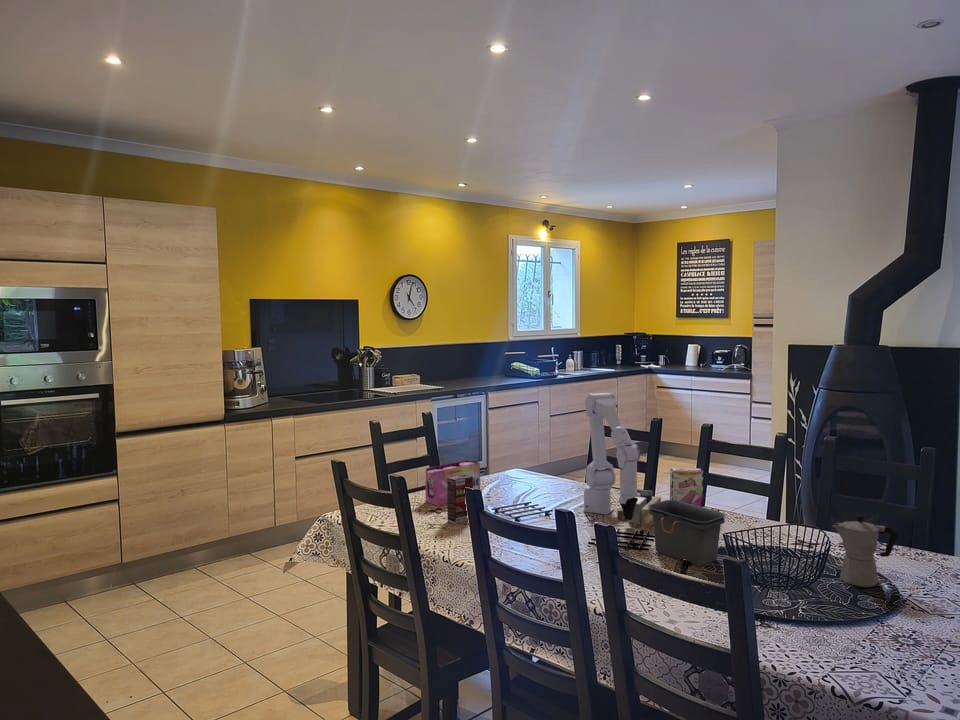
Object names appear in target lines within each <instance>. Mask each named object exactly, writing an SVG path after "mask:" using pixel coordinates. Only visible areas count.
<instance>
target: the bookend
mask: <svg viewBox="0 0 960 720" xmlns="http://www.w3.org/2000/svg"><path fill="white" fill-rule="evenodd" d="M637 493H640V496H639V497H647V504H648V503H649V502H650V501H651V500H652V499H653V490H647V489H639V488H637Z"/></svg>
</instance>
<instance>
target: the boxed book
mask: <svg viewBox="0 0 960 720" xmlns="http://www.w3.org/2000/svg"><path fill="white" fill-rule="evenodd" d="M634 498H638V501H637V503H636V505H635V508H634V512H633V517H632V520H627V522H628V523H630V522H632V523H631V524H637V523H640V522H641V521H642V508H643V507H644V506H646V505H647V497H634ZM641 523H642V522H641ZM641 523H640V524H641Z"/></svg>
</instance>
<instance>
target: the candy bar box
mask: <svg viewBox="0 0 960 720" xmlns="http://www.w3.org/2000/svg"><path fill="white" fill-rule="evenodd" d="M669 469H670V470H669V473H670V474H669V500H677V501H681V502H685V503H689V504H692V505H696V506H700V507H703V508H704V504H703V503H704V470H702V468H688V467H687V468H686V467H685V468H684V467H670V468H669Z"/></svg>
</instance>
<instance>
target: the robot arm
mask: <svg viewBox="0 0 960 720" xmlns="http://www.w3.org/2000/svg"><path fill="white" fill-rule="evenodd" d="M584 405H585V412H586V413H585V414H586V416H587V417H589V418H588V419H589V430H590V441H591V442H590V443H591V453H592V454H591V455H592V461H591V462H590V463H589V464H588V465H587V466H586V470H585V471H586V473H585V481H586V484H587V485H586V486H585V488H584V491H583V513H591V514H592V513H593V514H601V515H609V514H610V513H612V511H613V512H614V510H615V508H614V507H611V506H612V504H611V503H612V502H611V493H612V492H611V489H612V488H613V485H615V483H616V480H617V479H616V478H617V477H616V473H615V470H614V465H613V464H612V463H610V462H608V459H607V448H606V436H605V425H604V424H605V423H604V419H605V421H606V423H607V424H608V425H609V428H610V429H611V433H610V437H611V439H612V441H613V444H614V446H615V449H616V452H615V453H616V455H615V456H616V459H617V465H618V468H619V492H618V493H619V499H618V502H619V504H620V508H621V507H622V509H623V513H624V517H625V520H624V521H626V520H627V521H628V520H632V517H633V512H634V508H635V505H636V503H637V501H638V498H634V497H639V496H640V493H637V489H638V474H637V473H638V462H639V461H640V459H641V450H640V448H639V445H638V444H636V443H635V442H633V441H632V439H631V437H630V435H629V432H628V429H626V427H624V426H622V425H621V421H620V419H619V415H618V413H617V410H616V408H617V398H616V395H615V394H614V393H613V392H603V393H600V392H599V393H588V394H587V395H586V397H585V399H584Z"/></svg>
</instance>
